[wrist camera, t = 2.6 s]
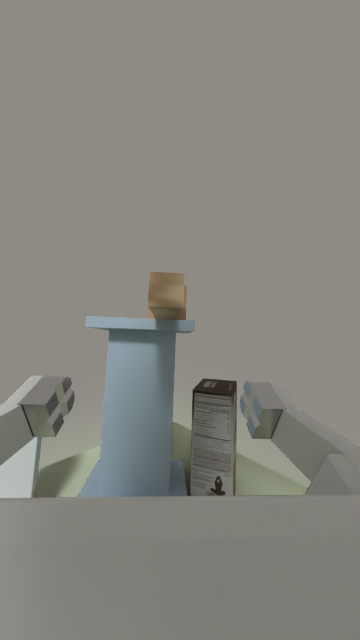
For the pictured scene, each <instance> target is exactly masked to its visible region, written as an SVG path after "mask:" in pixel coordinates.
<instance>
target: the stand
mask: <svg viewBox="0 0 360 640" xmlns="http://www.w3.org/2000/svg"><path fill="white" fill-rule="evenodd" d="M194 325H195V321H189V320H167V319H143V318H120V317H98V316H87V317H86V327H90V328H97V329H104V330H109V343H108V358H107V371H106V385H105V397H104V411H103V424H102V425H103V426H102V437H101V451H100V460H98V462H97V463H96V465H95V467H94V469H93V470H92V472H91V474H90V476H89V477H88V479H87V481H86V483H85V484H84V486H83V488H82V490H81V491H80V493H79V495H78V497H144V496H187V489H186V481H185V473H184V465H183V460H171V442H172V417H173V391H174V366H175V341H176V340H175V339H176V333H190V332H193V331H194Z"/></svg>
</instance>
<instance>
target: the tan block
mask: <svg viewBox="0 0 360 640" xmlns="http://www.w3.org/2000/svg"><path fill="white" fill-rule="evenodd" d="M186 293H187V286H186V285H184V274H180V273H163V272H150V276H149V295H148V319H167V320H186Z"/></svg>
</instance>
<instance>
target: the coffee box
mask: <svg viewBox="0 0 360 640" xmlns="http://www.w3.org/2000/svg"><path fill="white" fill-rule="evenodd" d="M236 389H237V385H236V381H226V380H216V379H202V381H201V382H200V383H199V384H198V385H197V386H196V387H195V388H194V389H193V401H192V439H191V476H190V496H235V479H236V398H237V397H236V396H237V395H236V391H237V390H236Z"/></svg>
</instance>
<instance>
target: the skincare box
mask: <svg viewBox="0 0 360 640" xmlns="http://www.w3.org/2000/svg"><path fill="white" fill-rule="evenodd" d="M41 439H42V437H33V439H32V440H31V441H30V442H29V443H27V444H26V445H25V446H24V447H23V448H21V449H20V450H19V451H18V452H17V453H15V454H14V455H13V456H12V457H10V458H9V459H8V460H7V461H6V462H4V463H3V464H2V465H1V466H0V498H35V494H36V485H37V476H38V467H39V458H40V448H41Z"/></svg>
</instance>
